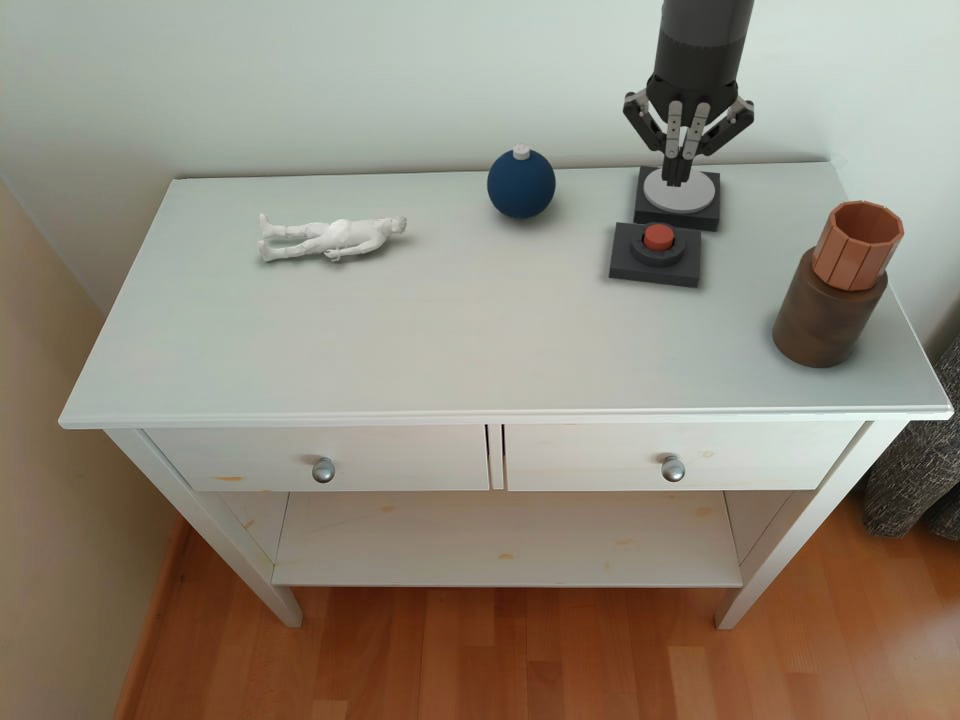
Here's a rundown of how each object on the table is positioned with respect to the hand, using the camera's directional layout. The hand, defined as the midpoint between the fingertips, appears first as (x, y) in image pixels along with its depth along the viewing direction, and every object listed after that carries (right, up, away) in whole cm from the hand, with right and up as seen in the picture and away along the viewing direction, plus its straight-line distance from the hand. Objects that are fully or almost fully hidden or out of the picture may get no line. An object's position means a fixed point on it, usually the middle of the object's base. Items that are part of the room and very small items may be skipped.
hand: (674, 182), depth 78 cm
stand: (+15, -17, 0) cm, 22 cm away
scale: (+4, +1, +15) cm, 15 cm away
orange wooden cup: (+14, -10, -8) cm, 19 cm away
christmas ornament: (-15, 0, +15) cm, 22 cm away
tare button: (0, -5, +7) cm, 9 cm away
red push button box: (0, -7, +9) cm, 11 cm away
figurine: (-38, -5, +12) cm, 40 cm away
